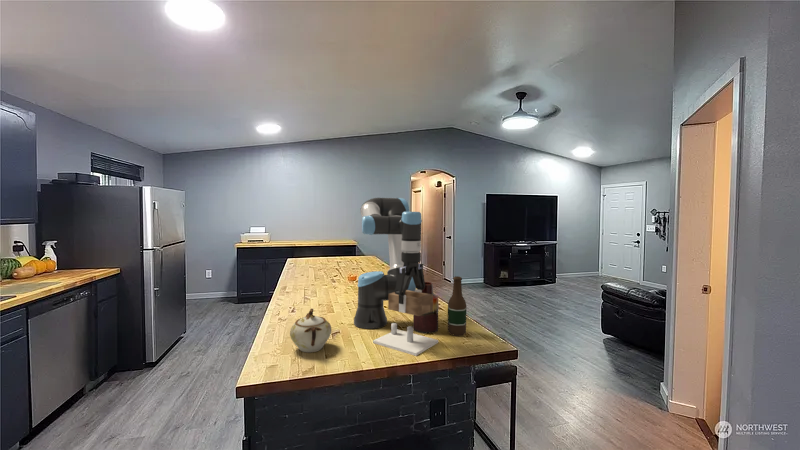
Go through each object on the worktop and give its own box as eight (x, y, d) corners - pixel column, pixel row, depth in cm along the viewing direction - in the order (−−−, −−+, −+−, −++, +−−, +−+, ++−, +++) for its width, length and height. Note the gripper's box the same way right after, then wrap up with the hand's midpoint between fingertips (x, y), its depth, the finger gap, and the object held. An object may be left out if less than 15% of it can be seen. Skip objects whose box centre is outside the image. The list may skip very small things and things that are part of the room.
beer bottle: (465, 337, 142) (466, 279, 141) (446, 335, 143) (447, 278, 142) (466, 330, 149) (467, 275, 148) (448, 329, 151) (448, 274, 150)
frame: (388, 309, 133) (388, 293, 133) (403, 303, 141) (403, 289, 141) (418, 316, 125) (418, 299, 125) (432, 309, 133) (433, 294, 133)
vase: (409, 331, 148) (410, 284, 147) (417, 324, 158) (418, 279, 157) (434, 335, 144) (434, 286, 143) (440, 327, 154) (441, 281, 153)
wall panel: (373, 342, 134) (373, 326, 134) (397, 331, 147) (397, 316, 147) (415, 355, 122) (416, 337, 122) (438, 342, 135) (438, 326, 135)
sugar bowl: (335, 355, 122) (335, 313, 121) (291, 361, 117) (291, 318, 116) (327, 336, 140) (327, 300, 140) (288, 341, 135) (288, 303, 134)
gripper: (402, 255, 121) (401, 317, 122) (434, 249, 139) (433, 304, 140) (385, 253, 125) (384, 314, 126) (418, 248, 144) (418, 301, 144)
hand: (410, 308), depth 133 cm, fingers closed on frame, 10 cm apart
